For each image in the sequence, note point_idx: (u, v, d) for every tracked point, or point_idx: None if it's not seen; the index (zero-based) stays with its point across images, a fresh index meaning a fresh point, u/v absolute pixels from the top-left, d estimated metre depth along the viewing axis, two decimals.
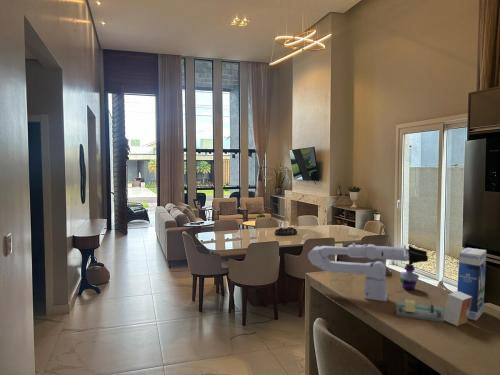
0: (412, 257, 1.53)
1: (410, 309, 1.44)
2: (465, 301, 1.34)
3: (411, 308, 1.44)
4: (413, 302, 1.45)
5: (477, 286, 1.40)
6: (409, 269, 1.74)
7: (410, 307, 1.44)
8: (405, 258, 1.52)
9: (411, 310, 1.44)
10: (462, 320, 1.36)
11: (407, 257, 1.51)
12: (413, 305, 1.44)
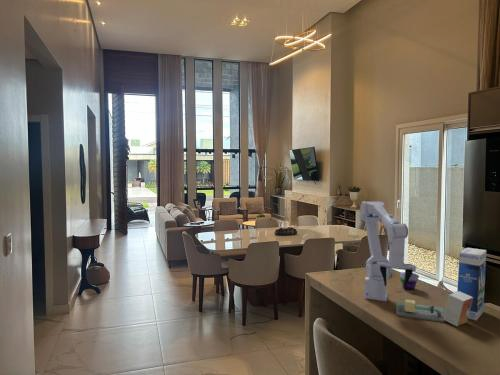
0: None
1: (410, 309, 1.44)
2: (466, 302, 1.34)
3: (411, 308, 1.44)
4: (413, 302, 1.45)
5: (477, 286, 1.40)
6: None
7: (410, 307, 1.44)
8: (377, 263, 1.50)
9: (411, 310, 1.44)
10: (462, 320, 1.36)
11: (377, 265, 1.49)
12: (413, 305, 1.44)
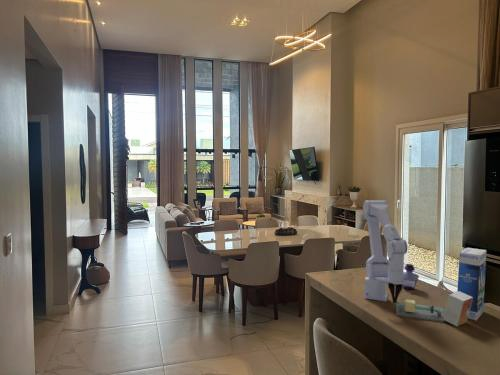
0: None
1: (410, 309, 1.44)
2: (466, 302, 1.34)
3: (411, 308, 1.44)
4: (413, 302, 1.45)
5: (477, 286, 1.40)
6: (409, 269, 1.74)
7: (410, 307, 1.44)
8: (376, 279, 1.50)
9: (411, 310, 1.44)
10: (462, 320, 1.36)
11: (376, 281, 1.50)
12: (413, 305, 1.44)
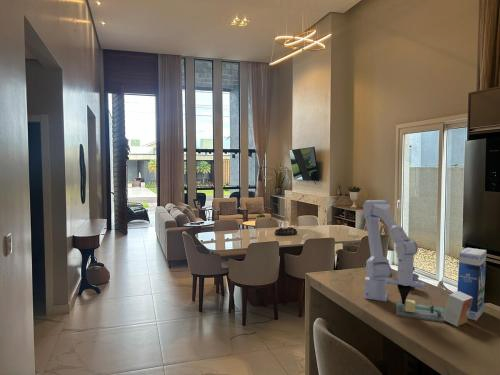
0: None
1: (410, 309, 1.44)
2: (466, 302, 1.34)
3: (411, 308, 1.44)
4: (413, 302, 1.45)
5: (477, 286, 1.40)
6: None
7: (410, 307, 1.44)
8: (385, 280, 1.49)
9: (411, 310, 1.44)
10: (462, 320, 1.36)
11: (385, 282, 1.48)
12: (413, 305, 1.44)
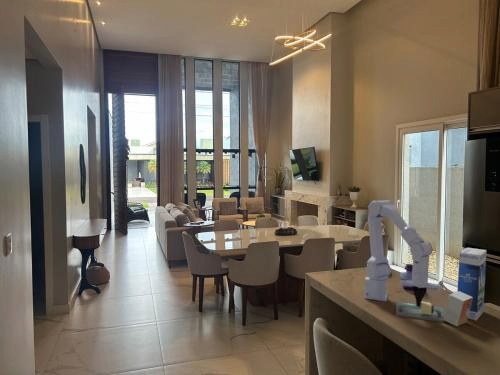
0: None
1: (426, 311, 1.42)
2: (466, 302, 1.34)
3: (427, 311, 1.42)
4: (429, 304, 1.43)
5: (477, 286, 1.40)
6: (409, 269, 1.74)
7: (426, 309, 1.42)
8: None
9: (427, 313, 1.42)
10: (462, 320, 1.36)
11: None
12: (429, 307, 1.42)
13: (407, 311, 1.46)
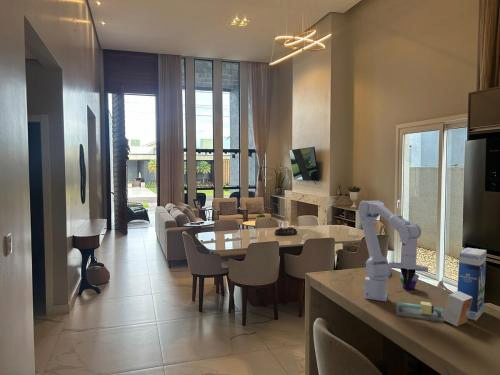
0: None
1: (426, 311, 1.42)
2: (466, 302, 1.34)
3: (427, 311, 1.42)
4: (429, 304, 1.43)
5: (477, 286, 1.40)
6: None
7: (426, 309, 1.42)
8: (388, 264, 1.49)
9: (427, 313, 1.42)
10: (462, 320, 1.36)
11: (388, 266, 1.48)
12: (429, 307, 1.42)
13: (407, 311, 1.46)
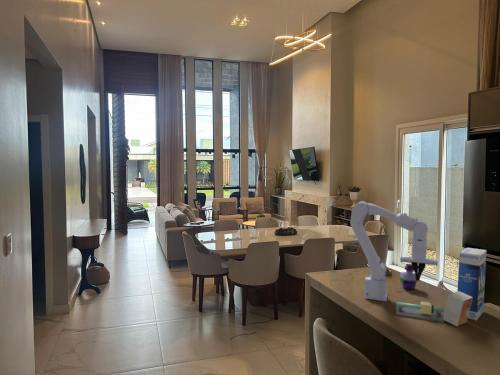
0: None
1: (426, 311, 1.42)
2: (466, 302, 1.34)
3: (427, 311, 1.42)
4: (429, 304, 1.43)
5: (477, 286, 1.40)
6: (409, 269, 1.74)
7: (426, 309, 1.42)
8: (400, 258, 1.58)
9: (427, 313, 1.42)
10: (462, 320, 1.36)
11: (400, 260, 1.58)
12: (429, 307, 1.42)
13: (407, 311, 1.46)
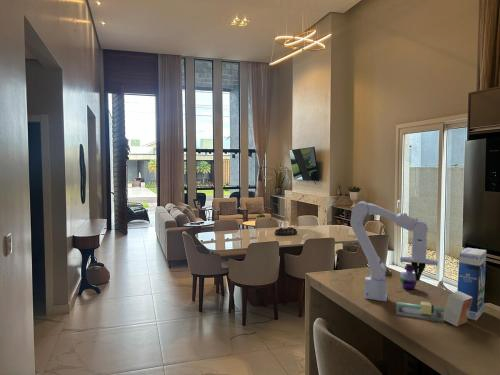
0: None
1: (426, 311, 1.42)
2: (466, 302, 1.34)
3: (427, 311, 1.42)
4: (429, 304, 1.43)
5: (477, 286, 1.40)
6: (409, 269, 1.74)
7: (426, 309, 1.42)
8: (400, 258, 1.58)
9: (427, 313, 1.42)
10: (462, 320, 1.36)
11: (400, 260, 1.58)
12: (429, 307, 1.42)
13: (407, 311, 1.46)
